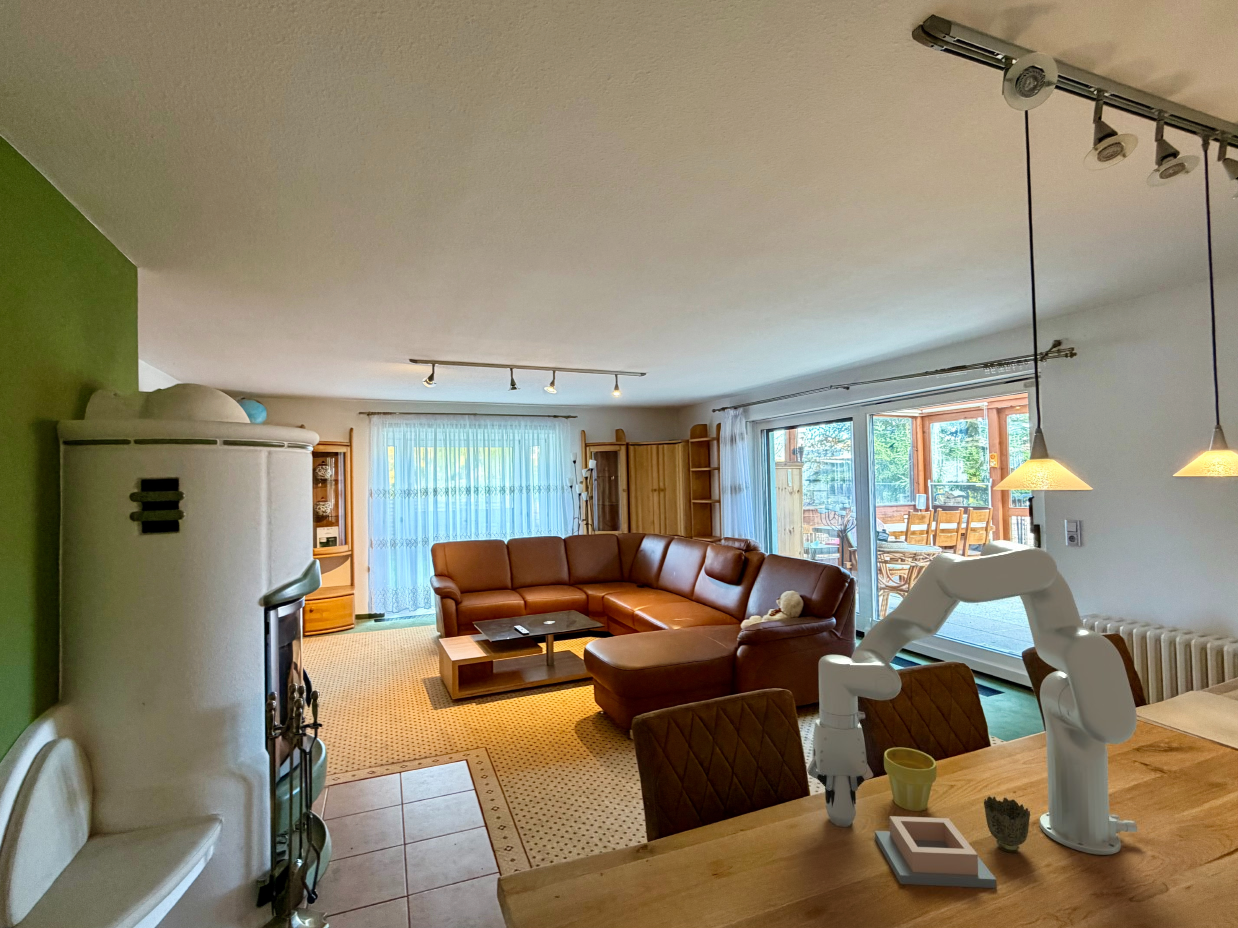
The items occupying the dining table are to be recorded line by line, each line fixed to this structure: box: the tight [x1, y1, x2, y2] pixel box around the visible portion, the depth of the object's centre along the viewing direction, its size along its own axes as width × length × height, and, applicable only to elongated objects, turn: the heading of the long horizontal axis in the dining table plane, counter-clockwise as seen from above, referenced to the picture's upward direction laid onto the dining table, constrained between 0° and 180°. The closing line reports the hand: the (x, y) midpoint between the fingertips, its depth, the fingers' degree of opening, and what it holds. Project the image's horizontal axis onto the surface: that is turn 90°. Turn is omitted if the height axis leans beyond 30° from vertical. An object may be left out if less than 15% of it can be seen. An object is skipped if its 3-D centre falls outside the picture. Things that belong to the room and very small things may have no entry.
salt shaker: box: [825, 775, 857, 828], centre depth 122 cm, size 6×6×13 cm
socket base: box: [874, 815, 998, 889], centre depth 109 cm, size 16×13×5 cm
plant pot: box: [883, 747, 937, 812], centre depth 129 cm, size 10×10×10 cm
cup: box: [983, 795, 1031, 853], centre depth 113 cm, size 8×7×8 cm
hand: (840, 805), depth 122 cm, fingers closed on salt shaker, 3 cm apart
